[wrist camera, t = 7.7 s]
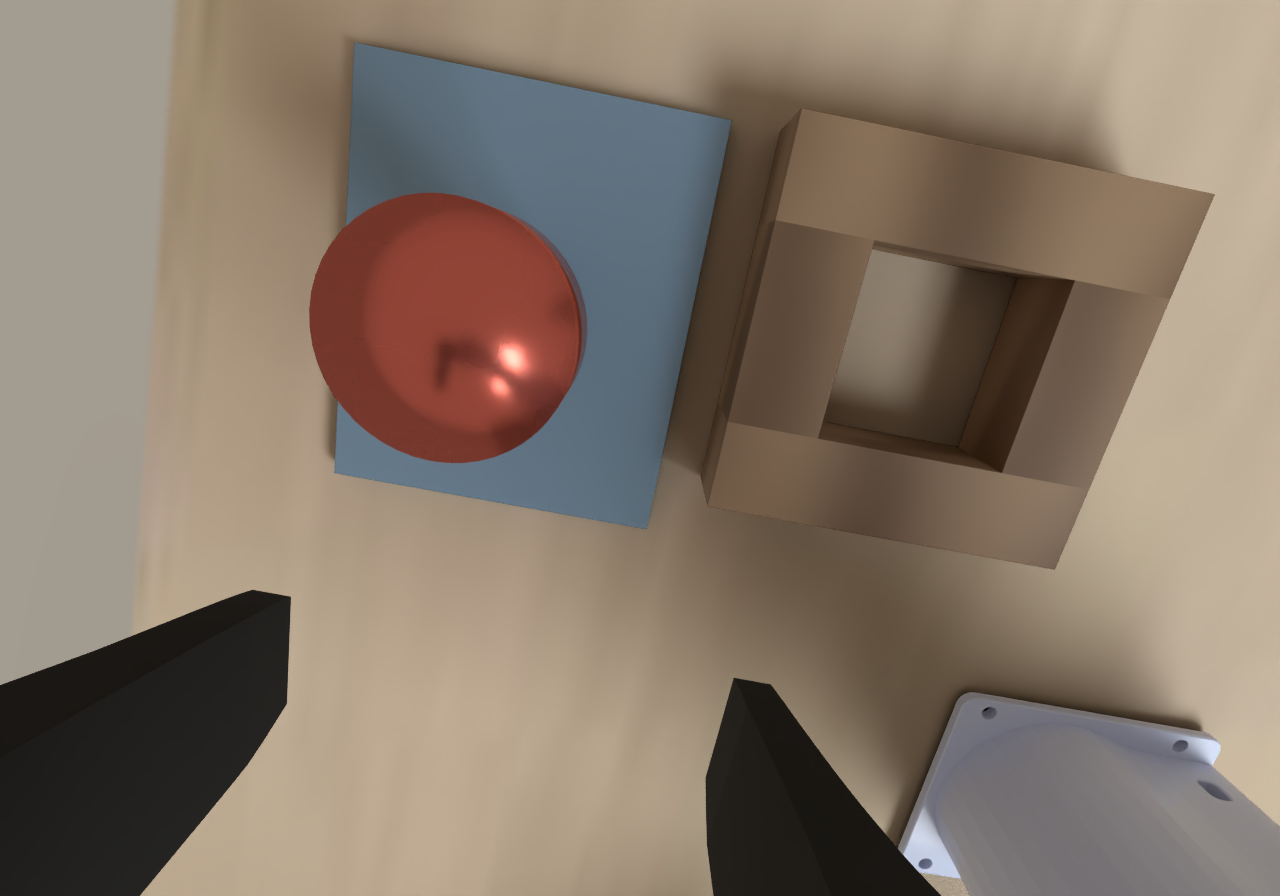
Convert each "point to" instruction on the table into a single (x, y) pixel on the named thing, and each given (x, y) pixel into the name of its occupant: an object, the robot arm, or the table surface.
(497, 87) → the mat
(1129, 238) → the eye block
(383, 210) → the red mushroom head
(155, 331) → the table surface
